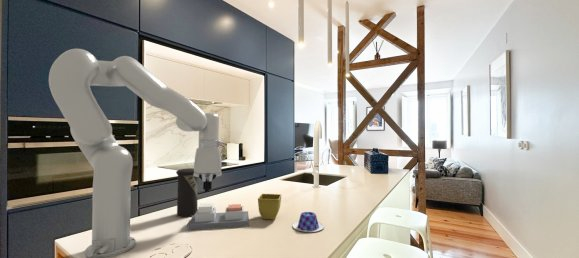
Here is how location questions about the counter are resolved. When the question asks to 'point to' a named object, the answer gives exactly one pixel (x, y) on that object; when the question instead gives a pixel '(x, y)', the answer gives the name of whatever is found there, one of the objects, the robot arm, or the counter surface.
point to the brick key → (234, 207)
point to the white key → (205, 208)
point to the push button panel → (219, 219)
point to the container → (186, 193)
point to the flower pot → (269, 205)
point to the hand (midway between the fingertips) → (207, 191)
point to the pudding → (308, 222)
